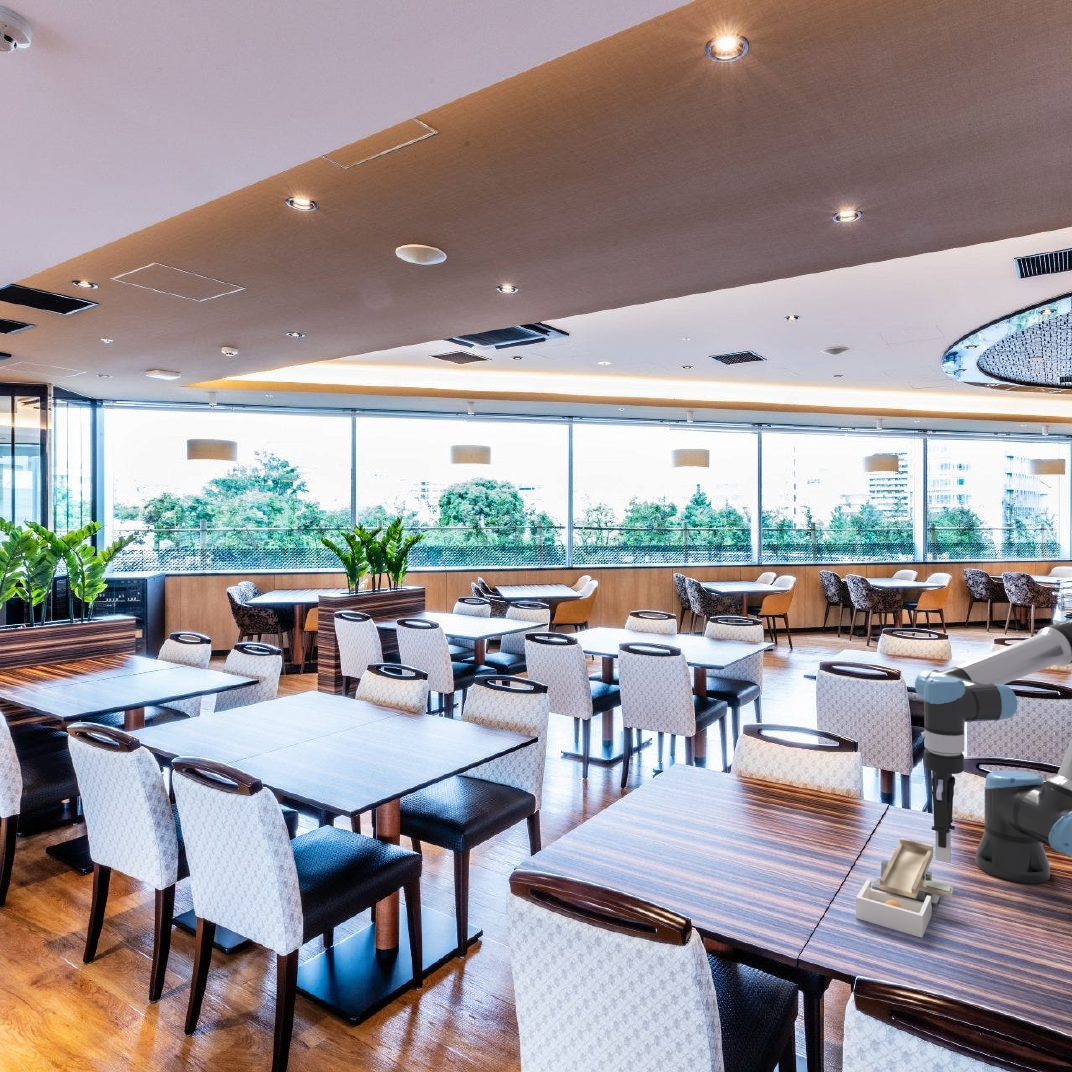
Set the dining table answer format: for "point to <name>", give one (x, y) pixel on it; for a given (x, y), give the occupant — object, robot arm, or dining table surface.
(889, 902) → the ball
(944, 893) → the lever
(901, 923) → the dish
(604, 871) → the dining table surface
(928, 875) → the stand
